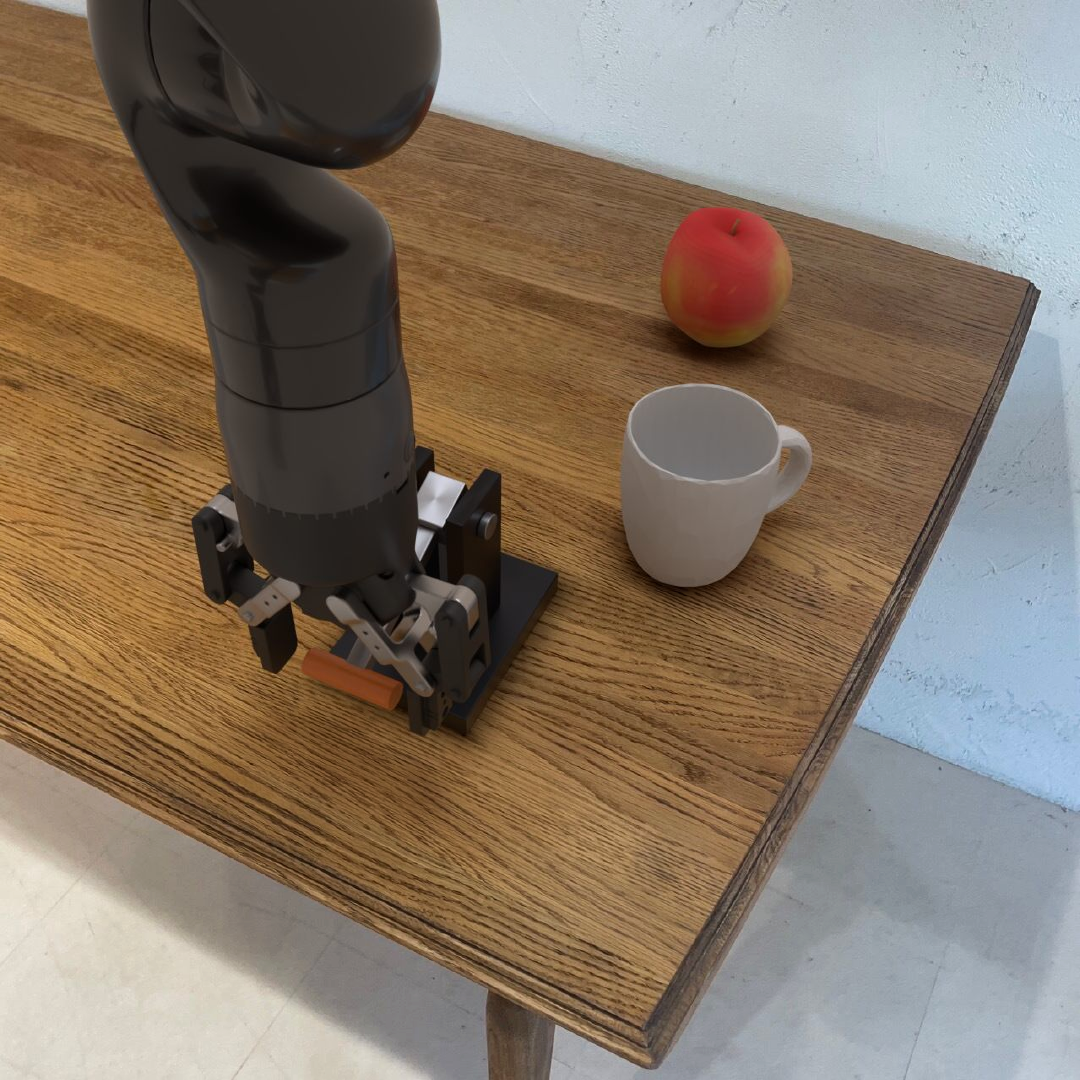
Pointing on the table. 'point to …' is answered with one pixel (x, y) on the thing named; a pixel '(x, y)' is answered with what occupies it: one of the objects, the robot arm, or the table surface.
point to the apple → (725, 276)
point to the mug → (703, 479)
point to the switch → (356, 671)
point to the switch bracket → (508, 581)
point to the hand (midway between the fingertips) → (353, 690)
